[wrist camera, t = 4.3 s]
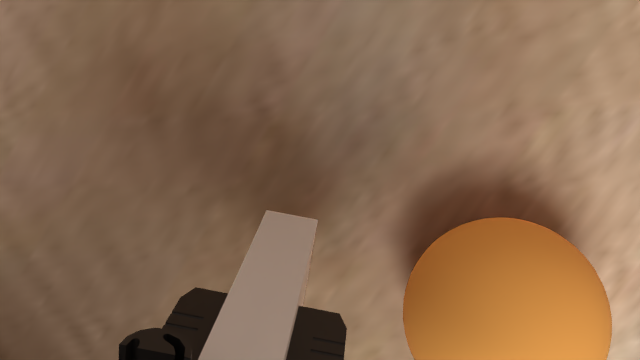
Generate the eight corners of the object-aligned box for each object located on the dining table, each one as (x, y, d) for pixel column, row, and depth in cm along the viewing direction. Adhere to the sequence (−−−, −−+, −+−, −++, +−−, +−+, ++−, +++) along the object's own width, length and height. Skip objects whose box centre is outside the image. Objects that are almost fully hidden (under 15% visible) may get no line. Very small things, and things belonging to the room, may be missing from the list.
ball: (384, 319, 20) (385, 445, 15) (421, 172, 18) (438, 260, 13) (542, 350, 20) (600, 489, 14) (598, 206, 18) (688, 309, 12)
